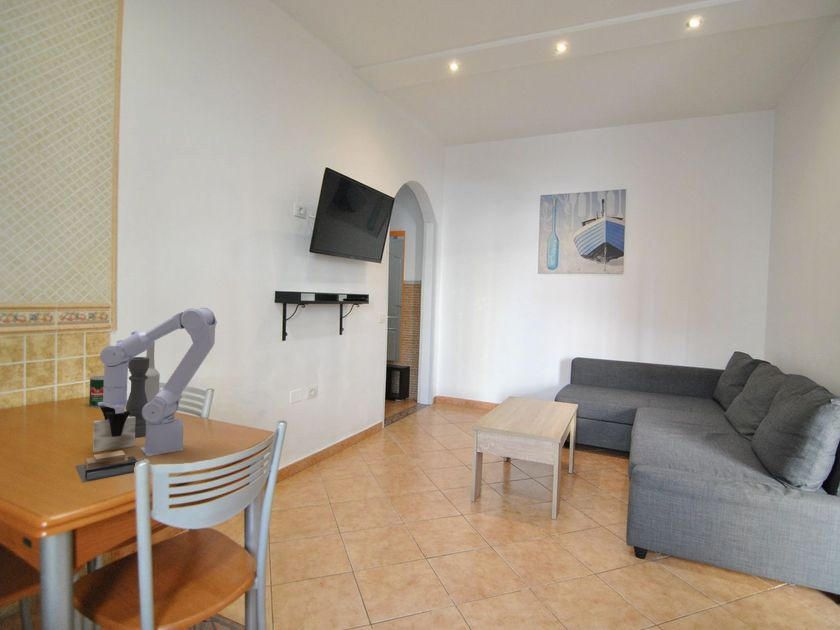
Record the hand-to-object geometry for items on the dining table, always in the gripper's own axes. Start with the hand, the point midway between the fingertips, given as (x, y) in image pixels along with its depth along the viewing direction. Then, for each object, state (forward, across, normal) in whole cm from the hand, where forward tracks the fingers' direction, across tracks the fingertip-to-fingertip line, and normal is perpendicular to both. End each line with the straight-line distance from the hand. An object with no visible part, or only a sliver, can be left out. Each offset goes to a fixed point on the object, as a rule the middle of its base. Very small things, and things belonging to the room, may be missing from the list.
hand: (113, 432), depth 131 cm
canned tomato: (+5, -60, +6) cm, 61 cm away
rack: (+5, +16, -4) cm, 18 cm away
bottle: (+5, -32, +16) cm, 36 cm away
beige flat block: (+5, 0, 0) cm, 5 cm away
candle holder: (+5, -11, +8) cm, 15 cm away
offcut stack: (+5, +13, -4) cm, 14 cm away
